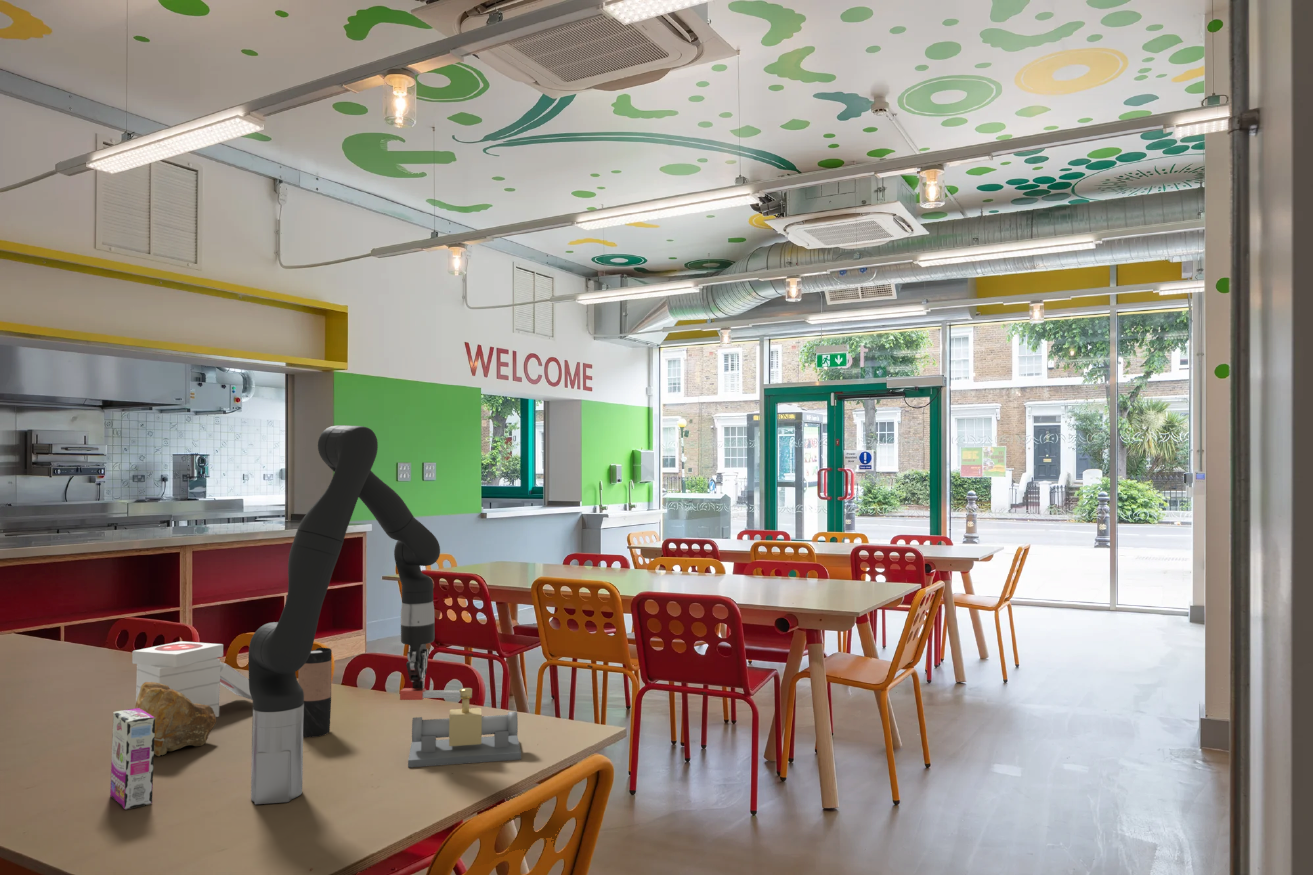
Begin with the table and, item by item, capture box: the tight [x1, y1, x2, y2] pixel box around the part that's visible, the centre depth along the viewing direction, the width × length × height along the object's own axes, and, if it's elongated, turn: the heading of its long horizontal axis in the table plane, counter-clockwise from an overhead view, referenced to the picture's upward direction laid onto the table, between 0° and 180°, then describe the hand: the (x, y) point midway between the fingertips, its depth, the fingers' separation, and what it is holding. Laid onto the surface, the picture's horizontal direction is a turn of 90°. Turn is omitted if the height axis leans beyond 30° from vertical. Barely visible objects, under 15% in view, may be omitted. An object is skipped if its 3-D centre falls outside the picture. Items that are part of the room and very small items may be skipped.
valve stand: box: [407, 698, 522, 768], centre depth 198 cm, size 14×24×12 cm, turn 102°
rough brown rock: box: [134, 682, 217, 757], centre depth 204 cm, size 23×17×15 cm
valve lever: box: [399, 687, 473, 701], centre depth 198 cm, size 16×3×2 cm, turn 89°
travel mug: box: [297, 647, 333, 738], centre depth 215 cm, size 8×8×20 cm
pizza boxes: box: [131, 640, 253, 718], centre depth 234 cm, size 19×30×18 cm, turn 140°
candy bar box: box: [109, 707, 155, 811], centre depth 170 cm, size 11×5×16 cm, turn 45°
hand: (418, 697), depth 202 cm, fingers closed
